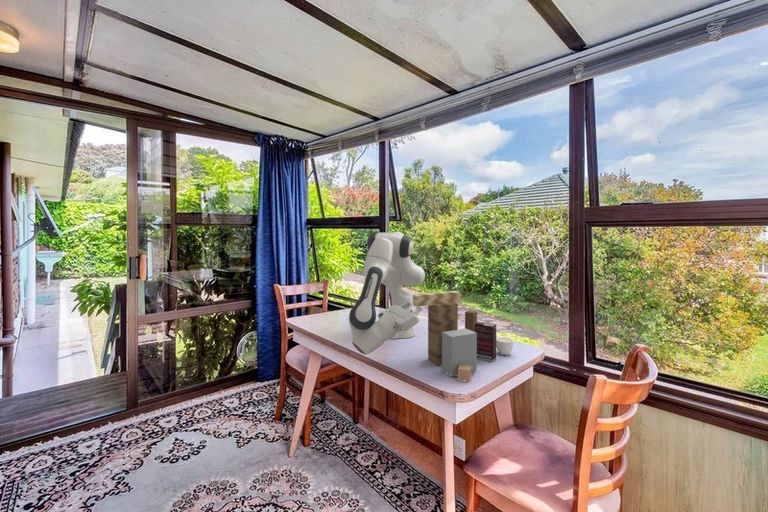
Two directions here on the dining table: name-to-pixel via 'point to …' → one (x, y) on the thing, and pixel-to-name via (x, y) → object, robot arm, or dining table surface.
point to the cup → (504, 345)
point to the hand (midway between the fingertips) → (415, 305)
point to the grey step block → (459, 350)
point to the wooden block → (470, 320)
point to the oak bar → (436, 298)
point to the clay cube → (464, 372)
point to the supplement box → (486, 341)
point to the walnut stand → (440, 328)
